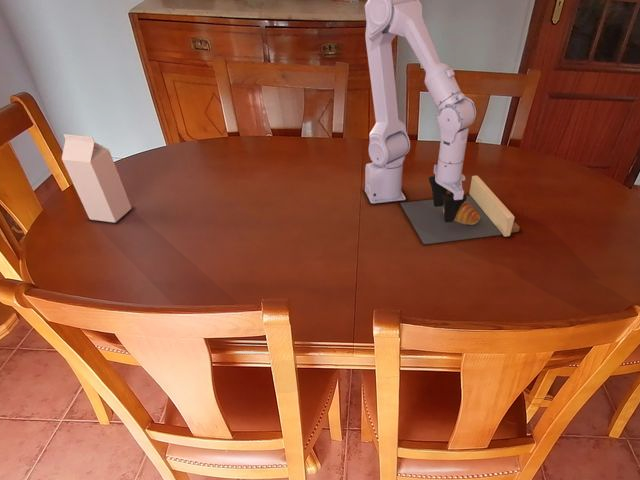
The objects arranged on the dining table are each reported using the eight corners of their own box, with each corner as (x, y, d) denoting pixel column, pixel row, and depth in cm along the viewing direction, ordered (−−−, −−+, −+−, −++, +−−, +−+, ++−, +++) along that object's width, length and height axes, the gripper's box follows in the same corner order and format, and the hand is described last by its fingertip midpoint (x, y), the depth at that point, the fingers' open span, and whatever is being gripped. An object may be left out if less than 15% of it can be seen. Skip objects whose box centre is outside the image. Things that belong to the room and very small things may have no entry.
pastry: (485, 220, 115) (488, 205, 113) (469, 230, 112) (471, 215, 109) (455, 206, 120) (457, 192, 117) (438, 215, 117) (440, 201, 114)
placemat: (423, 244, 107) (424, 244, 107) (399, 203, 121) (399, 202, 121) (501, 234, 111) (501, 234, 111) (469, 195, 124) (469, 195, 124)
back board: (504, 236, 110) (508, 217, 107) (469, 193, 125) (472, 175, 122) (521, 234, 111) (526, 215, 107) (484, 192, 126) (487, 174, 122)
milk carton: (115, 223, 112) (82, 143, 99) (89, 220, 113) (52, 140, 100) (132, 209, 117) (102, 131, 104) (106, 206, 118) (73, 128, 105)
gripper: (480, 171, 101) (469, 226, 110) (455, 144, 111) (448, 197, 120) (449, 174, 100) (442, 230, 109) (427, 147, 109) (422, 200, 119)
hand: (443, 213), depth 115 cm, fingers open, 7 cm apart
